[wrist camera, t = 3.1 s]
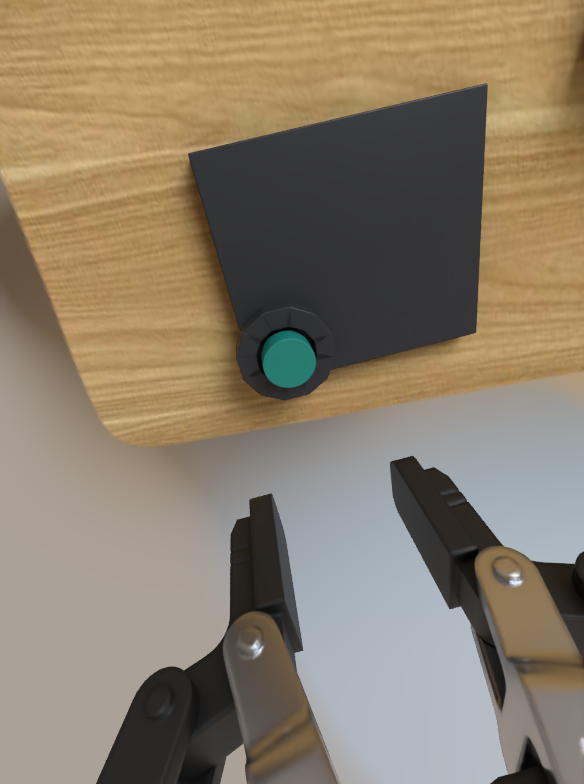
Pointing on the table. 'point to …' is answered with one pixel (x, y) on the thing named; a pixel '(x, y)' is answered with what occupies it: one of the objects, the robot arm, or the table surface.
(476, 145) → the scale
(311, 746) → the robot arm
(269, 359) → the button
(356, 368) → the table surface
